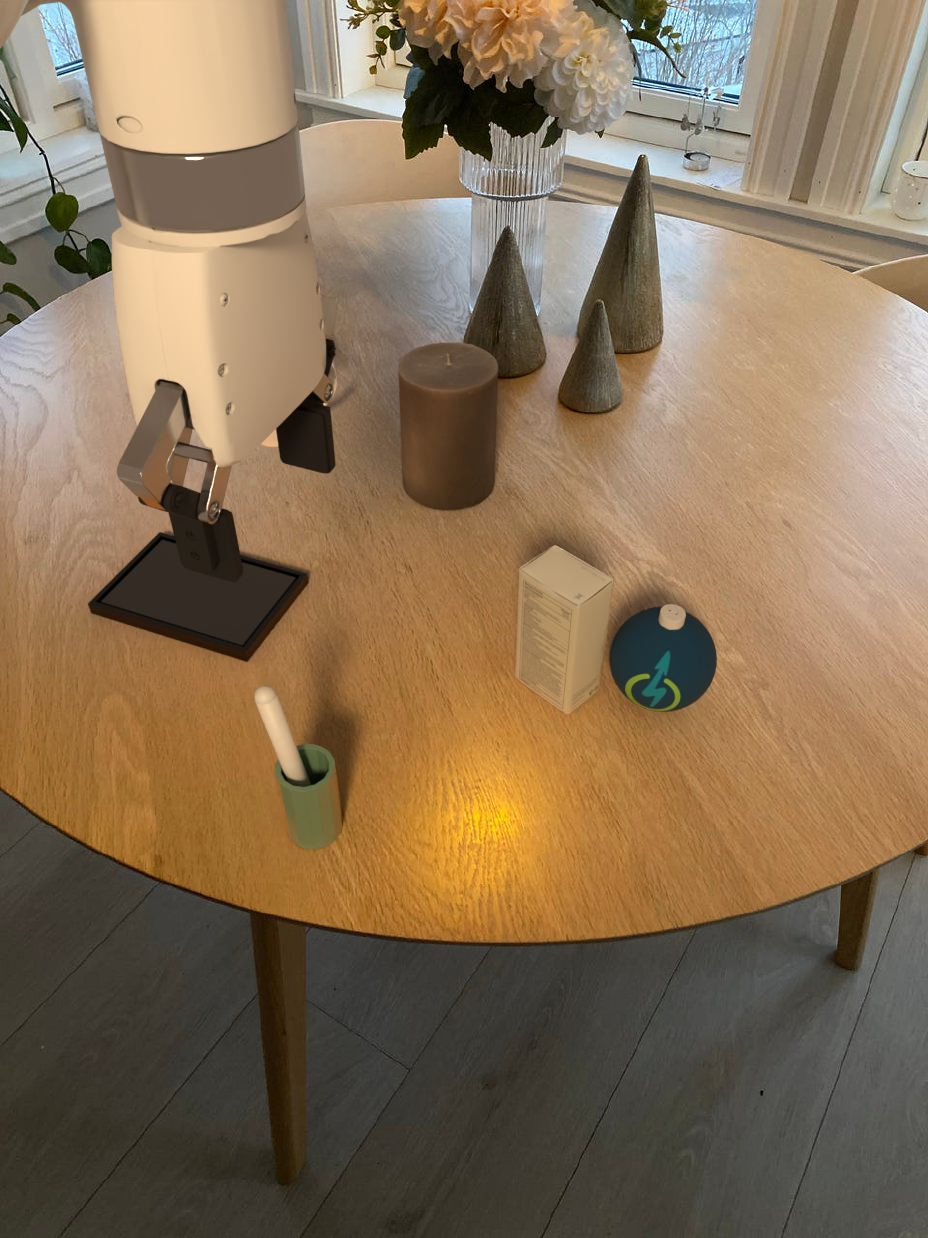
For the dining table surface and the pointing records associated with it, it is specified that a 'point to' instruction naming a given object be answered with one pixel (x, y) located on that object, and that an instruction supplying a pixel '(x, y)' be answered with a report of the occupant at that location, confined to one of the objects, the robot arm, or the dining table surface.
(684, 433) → the dining table surface
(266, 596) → the screen
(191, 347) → the robot arm
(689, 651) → the christmas ornament
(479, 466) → the pillar candle
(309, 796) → the pen pot
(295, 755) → the stylus
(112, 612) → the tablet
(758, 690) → the dining table surface
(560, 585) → the cosmetic box
